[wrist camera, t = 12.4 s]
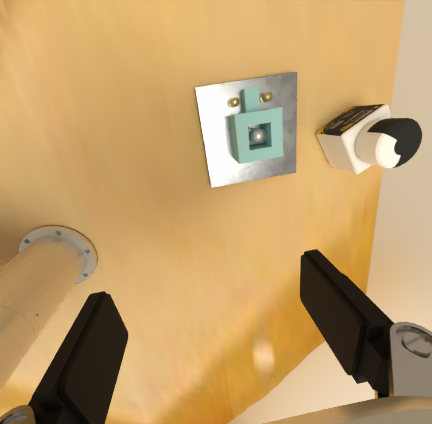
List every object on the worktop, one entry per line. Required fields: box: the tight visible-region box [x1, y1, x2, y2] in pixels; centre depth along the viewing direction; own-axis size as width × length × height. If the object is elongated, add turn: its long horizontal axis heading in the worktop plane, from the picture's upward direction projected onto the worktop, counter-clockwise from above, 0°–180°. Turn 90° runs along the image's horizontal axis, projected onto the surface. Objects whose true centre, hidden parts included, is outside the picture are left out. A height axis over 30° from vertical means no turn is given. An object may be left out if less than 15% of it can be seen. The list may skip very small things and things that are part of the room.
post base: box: [195, 72, 297, 187], centre depth 32 cm, size 15×15×6 cm
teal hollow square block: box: [228, 86, 283, 164], centre depth 31 cm, size 9×6×5 cm
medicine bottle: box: [316, 104, 422, 174], centre depth 31 cm, size 7×7×12 cm
